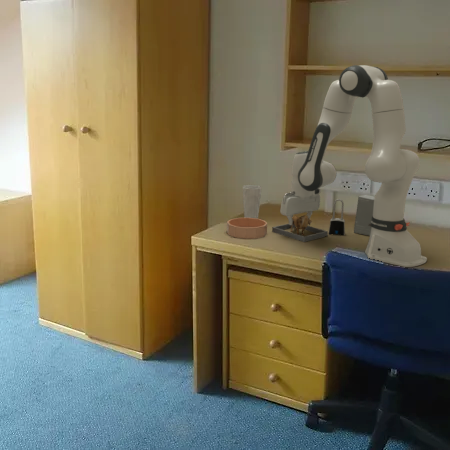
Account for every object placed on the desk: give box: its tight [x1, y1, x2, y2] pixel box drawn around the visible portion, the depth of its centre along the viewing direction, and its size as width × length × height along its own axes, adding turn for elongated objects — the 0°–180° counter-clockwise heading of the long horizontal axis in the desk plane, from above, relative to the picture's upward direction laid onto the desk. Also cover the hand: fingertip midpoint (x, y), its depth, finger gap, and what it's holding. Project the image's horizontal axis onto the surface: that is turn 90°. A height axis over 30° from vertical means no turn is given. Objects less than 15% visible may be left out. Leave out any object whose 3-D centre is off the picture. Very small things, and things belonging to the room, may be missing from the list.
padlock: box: [328, 198, 346, 236], centre depth 242 cm, size 7×4×15 cm, turn 78°
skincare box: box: [353, 194, 375, 237], centre depth 244 cm, size 8×7×16 cm
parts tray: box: [271, 223, 329, 243], centre depth 243 cm, size 18×14×2 cm
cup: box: [242, 184, 263, 219], centre depth 260 cm, size 8×8×16 cm
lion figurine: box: [289, 214, 313, 236], centre depth 243 cm, size 15×5×9 cm, turn 24°
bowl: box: [226, 217, 268, 240], centre depth 242 cm, size 16×16×4 cm
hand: (299, 222), depth 242 cm, fingers open, 8 cm apart
